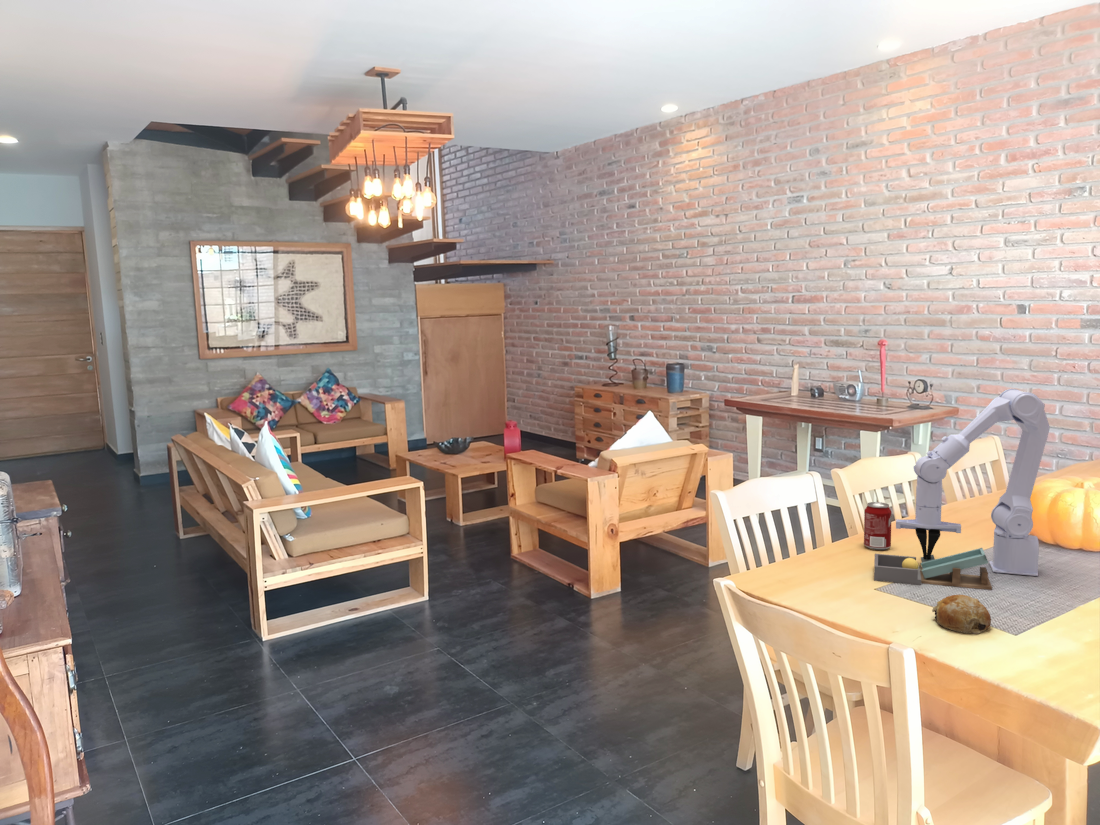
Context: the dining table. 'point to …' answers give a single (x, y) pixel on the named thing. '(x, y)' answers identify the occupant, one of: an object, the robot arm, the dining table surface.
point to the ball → (910, 563)
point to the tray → (895, 570)
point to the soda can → (877, 526)
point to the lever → (953, 562)
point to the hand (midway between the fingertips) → (926, 558)
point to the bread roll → (962, 614)
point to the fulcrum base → (960, 579)
